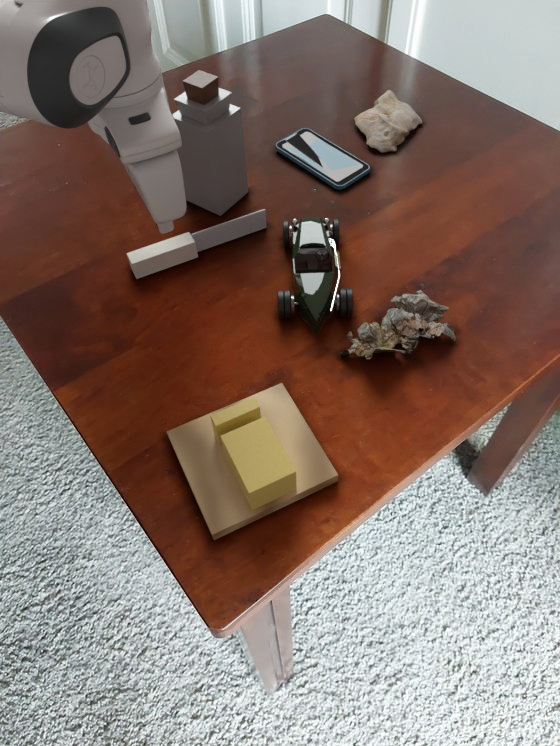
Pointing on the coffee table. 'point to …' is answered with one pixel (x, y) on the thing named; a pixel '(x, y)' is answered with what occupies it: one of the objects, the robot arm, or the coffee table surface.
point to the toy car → (314, 273)
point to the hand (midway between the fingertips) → (153, 206)
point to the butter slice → (235, 417)
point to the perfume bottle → (210, 144)
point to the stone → (387, 122)
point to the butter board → (217, 479)
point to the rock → (401, 326)
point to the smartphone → (322, 158)
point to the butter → (259, 462)
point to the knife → (192, 244)
